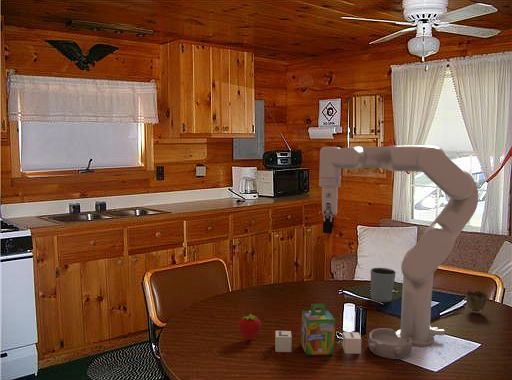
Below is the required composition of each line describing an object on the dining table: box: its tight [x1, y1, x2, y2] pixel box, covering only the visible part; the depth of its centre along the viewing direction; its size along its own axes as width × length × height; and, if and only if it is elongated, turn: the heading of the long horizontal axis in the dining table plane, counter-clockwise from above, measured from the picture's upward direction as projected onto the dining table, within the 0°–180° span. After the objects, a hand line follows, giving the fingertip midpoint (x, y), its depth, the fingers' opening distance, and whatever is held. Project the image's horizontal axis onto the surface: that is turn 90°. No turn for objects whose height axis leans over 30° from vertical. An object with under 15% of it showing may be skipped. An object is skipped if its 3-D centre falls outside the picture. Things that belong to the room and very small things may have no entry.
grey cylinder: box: [370, 267, 397, 303], centre depth 217 cm, size 10×10×12 cm
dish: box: [367, 327, 413, 360], centre depth 167 cm, size 14×14×5 cm
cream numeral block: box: [342, 331, 362, 355], centre depth 167 cm, size 5×5×5 cm
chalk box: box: [300, 303, 336, 356], centre depth 166 cm, size 9×9×15 cm
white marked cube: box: [274, 330, 293, 353], centre depth 167 cm, size 5×5×5 cm
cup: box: [466, 290, 488, 315], centre depth 201 cm, size 8×7×8 cm
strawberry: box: [238, 310, 262, 341], centre depth 173 cm, size 6×8×10 cm
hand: (328, 230), depth 184 cm, fingers open, 9 cm apart
